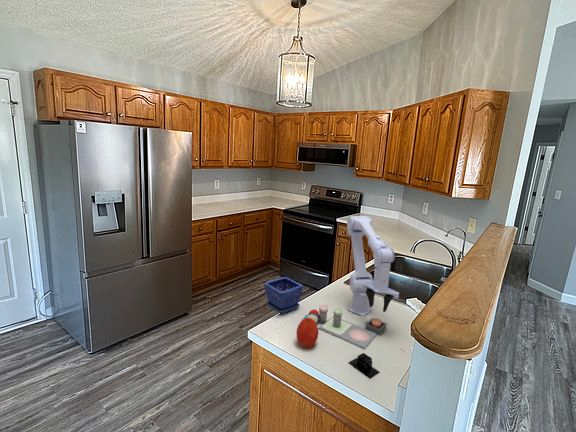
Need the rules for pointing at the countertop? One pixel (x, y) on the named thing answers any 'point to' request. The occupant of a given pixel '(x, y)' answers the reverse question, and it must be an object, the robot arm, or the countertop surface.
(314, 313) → the toy figure
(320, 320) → the rose marker
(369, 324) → the button housing
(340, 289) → the countertop surface
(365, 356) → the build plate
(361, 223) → the robot arm
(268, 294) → the flower pot
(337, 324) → the sage marker
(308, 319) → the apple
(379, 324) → the button
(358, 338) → the picture board
